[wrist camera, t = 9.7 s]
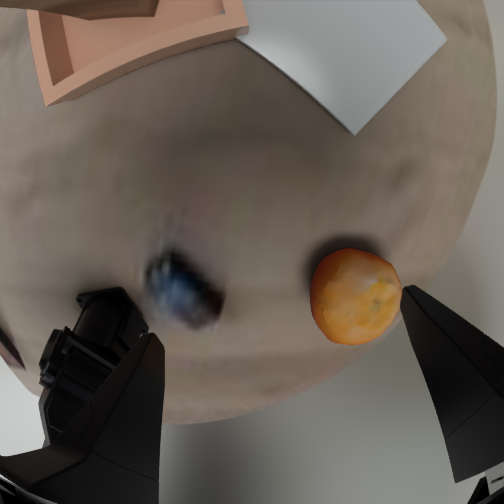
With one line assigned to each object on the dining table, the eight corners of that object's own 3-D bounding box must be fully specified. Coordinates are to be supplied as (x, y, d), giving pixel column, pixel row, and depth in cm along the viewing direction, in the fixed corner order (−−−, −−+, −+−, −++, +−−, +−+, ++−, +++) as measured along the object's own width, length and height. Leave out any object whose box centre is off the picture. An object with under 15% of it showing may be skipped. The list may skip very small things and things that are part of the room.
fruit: (280, 317, 26) (315, 351, 18) (305, 236, 26) (351, 240, 18) (349, 331, 28) (395, 360, 20) (372, 259, 28) (425, 269, 20)
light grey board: (349, 132, 18) (354, 135, 17) (213, 25, 13) (211, 22, 13) (440, 39, 13) (447, 39, 12) (324, -68, 8) (328, -73, 7)
